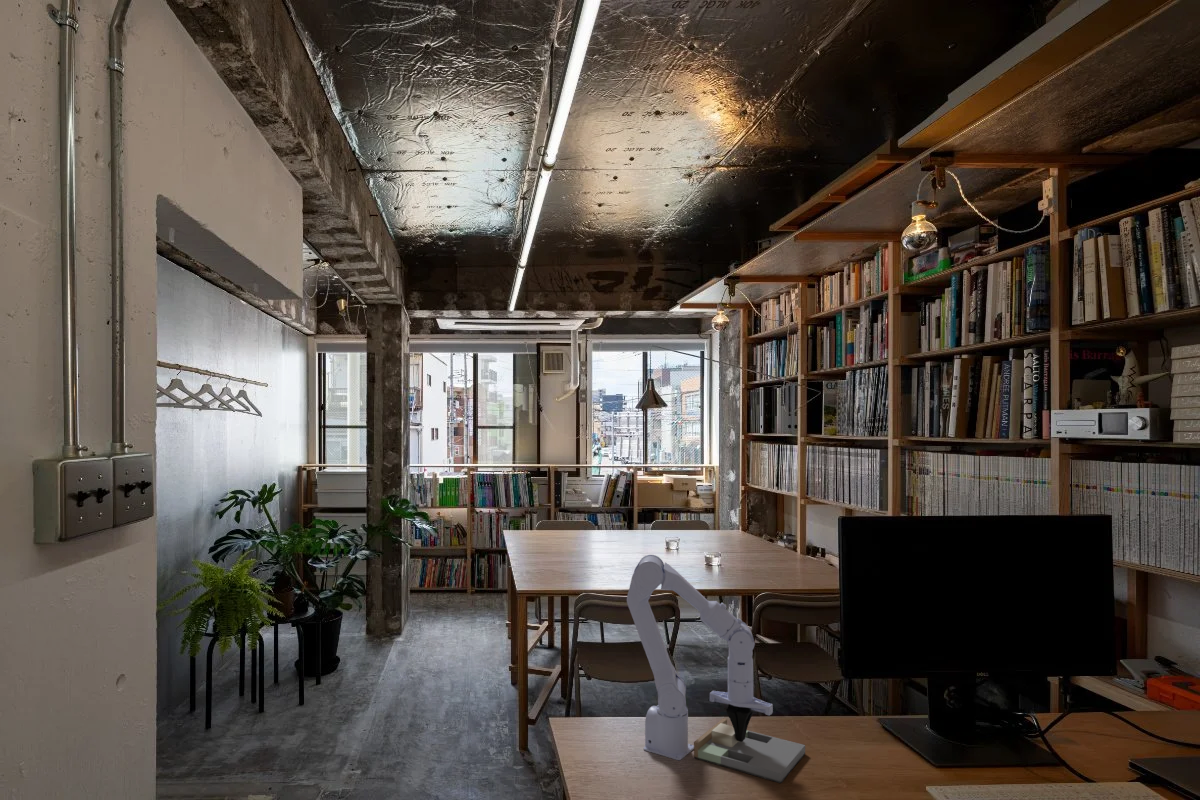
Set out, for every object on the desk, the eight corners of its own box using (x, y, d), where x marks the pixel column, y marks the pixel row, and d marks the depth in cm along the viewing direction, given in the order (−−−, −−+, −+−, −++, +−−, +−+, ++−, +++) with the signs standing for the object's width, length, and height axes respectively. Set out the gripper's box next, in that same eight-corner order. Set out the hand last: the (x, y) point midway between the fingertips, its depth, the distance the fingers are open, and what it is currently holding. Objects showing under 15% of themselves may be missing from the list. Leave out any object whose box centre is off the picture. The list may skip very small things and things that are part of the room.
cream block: (711, 741, 160) (711, 730, 160) (720, 733, 164) (720, 723, 165) (732, 747, 157) (732, 736, 158) (740, 739, 162) (740, 728, 162)
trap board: (693, 758, 157) (693, 742, 157) (723, 732, 170) (723, 717, 170) (780, 783, 145) (780, 766, 146) (805, 754, 159) (805, 738, 159)
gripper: (777, 680, 159) (777, 741, 158) (718, 667, 167) (718, 725, 166) (766, 689, 153) (766, 752, 152) (705, 676, 161) (705, 736, 160)
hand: (740, 739), depth 159 cm, fingers closed
